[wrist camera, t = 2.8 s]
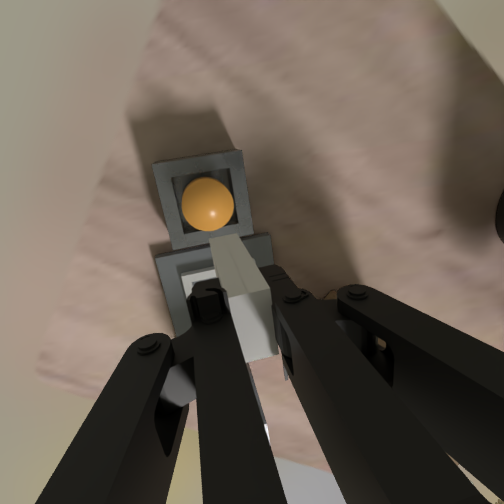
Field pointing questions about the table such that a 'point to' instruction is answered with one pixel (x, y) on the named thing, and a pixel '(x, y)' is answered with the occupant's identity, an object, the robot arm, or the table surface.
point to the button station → (189, 168)
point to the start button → (207, 204)
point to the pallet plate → (199, 273)
